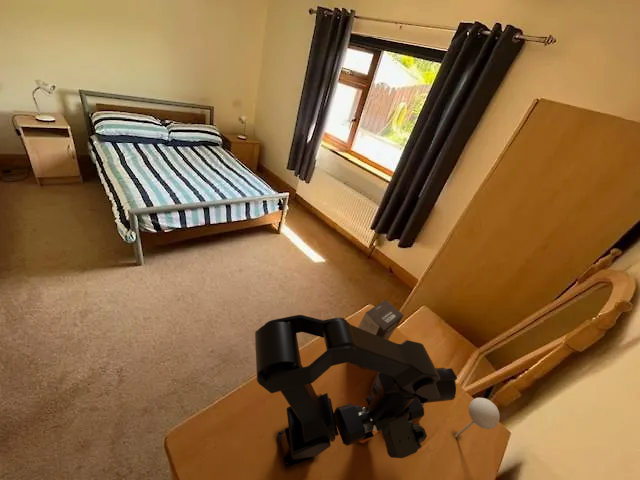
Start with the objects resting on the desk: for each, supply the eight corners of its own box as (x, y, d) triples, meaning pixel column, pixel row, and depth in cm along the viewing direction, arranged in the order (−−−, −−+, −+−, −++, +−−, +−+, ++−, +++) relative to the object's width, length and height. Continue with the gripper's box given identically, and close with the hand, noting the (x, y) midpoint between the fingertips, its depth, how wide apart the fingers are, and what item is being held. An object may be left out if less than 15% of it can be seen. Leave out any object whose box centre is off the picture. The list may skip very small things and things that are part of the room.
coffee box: (362, 367, 82) (383, 331, 72) (345, 349, 85) (364, 312, 76) (382, 351, 87) (405, 315, 78) (366, 335, 91) (386, 298, 81)
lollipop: (470, 454, 70) (509, 426, 62) (446, 445, 71) (481, 416, 62) (465, 426, 76) (501, 397, 67) (442, 418, 76) (475, 388, 67)
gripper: (372, 460, 48) (343, 492, 57) (458, 426, 56) (421, 458, 64) (343, 391, 55) (322, 428, 64) (422, 369, 63) (393, 405, 72)
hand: (366, 430), depth 66 cm, fingers closed on milkshake, 4 cm apart
